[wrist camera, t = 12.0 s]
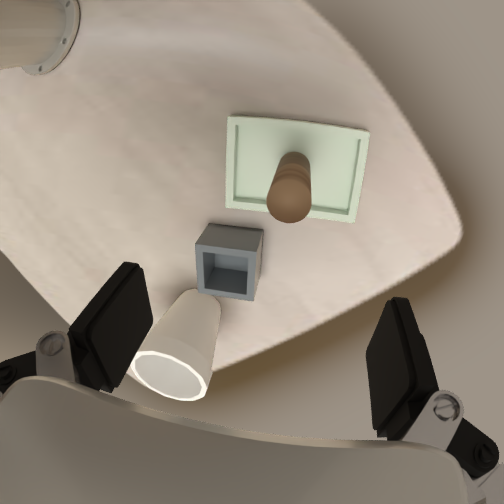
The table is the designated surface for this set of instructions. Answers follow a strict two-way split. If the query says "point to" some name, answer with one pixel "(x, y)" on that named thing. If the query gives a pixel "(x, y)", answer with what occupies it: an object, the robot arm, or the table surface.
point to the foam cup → (181, 348)
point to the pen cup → (229, 261)
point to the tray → (303, 141)
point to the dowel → (290, 189)
